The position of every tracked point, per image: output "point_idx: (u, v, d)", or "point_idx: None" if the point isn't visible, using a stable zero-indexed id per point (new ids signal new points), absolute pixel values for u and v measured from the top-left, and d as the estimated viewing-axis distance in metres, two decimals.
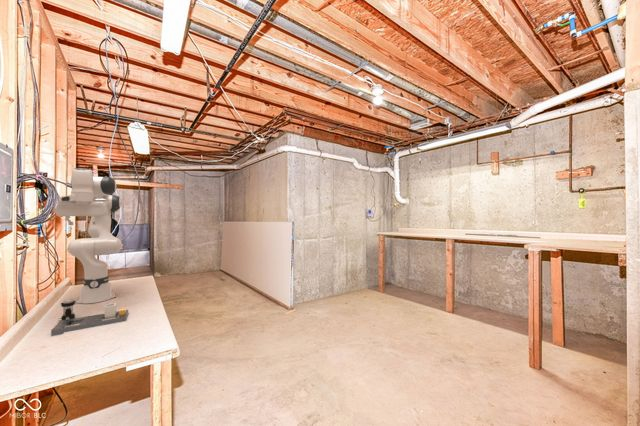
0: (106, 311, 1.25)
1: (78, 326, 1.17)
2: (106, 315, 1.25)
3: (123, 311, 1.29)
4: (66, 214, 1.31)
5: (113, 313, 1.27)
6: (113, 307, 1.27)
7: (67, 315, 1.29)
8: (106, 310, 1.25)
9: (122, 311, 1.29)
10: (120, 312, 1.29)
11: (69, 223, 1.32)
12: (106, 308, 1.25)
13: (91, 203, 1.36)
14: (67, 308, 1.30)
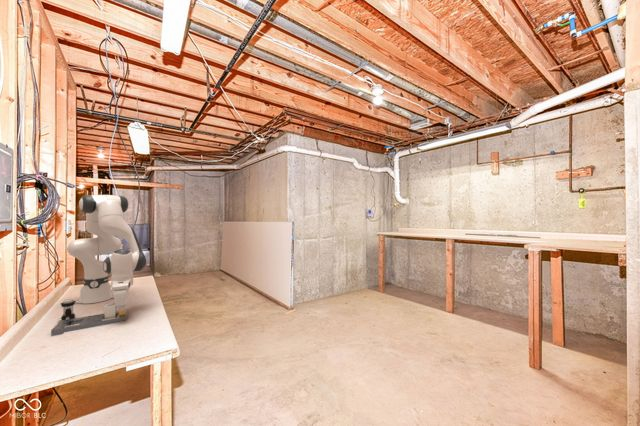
0: (106, 311, 1.25)
1: (78, 326, 1.17)
2: (106, 315, 1.25)
3: (123, 311, 1.29)
4: (125, 301, 1.26)
5: (113, 313, 1.27)
6: (113, 307, 1.27)
7: (67, 315, 1.29)
8: (106, 310, 1.25)
9: (122, 311, 1.29)
10: (120, 312, 1.29)
11: (124, 308, 1.30)
12: (106, 308, 1.25)
13: None
14: (67, 308, 1.30)
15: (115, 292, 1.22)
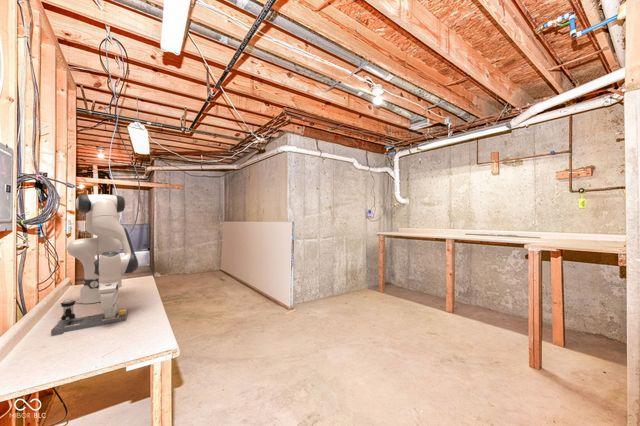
0: (106, 311, 1.25)
1: (78, 326, 1.17)
2: (106, 315, 1.25)
3: (123, 312, 1.29)
4: (113, 304, 1.24)
5: (113, 313, 1.27)
6: (113, 307, 1.27)
7: (67, 315, 1.29)
8: (106, 310, 1.25)
9: (122, 312, 1.29)
10: (120, 313, 1.29)
11: None
12: None
13: None
14: (67, 308, 1.30)
15: (102, 295, 1.19)
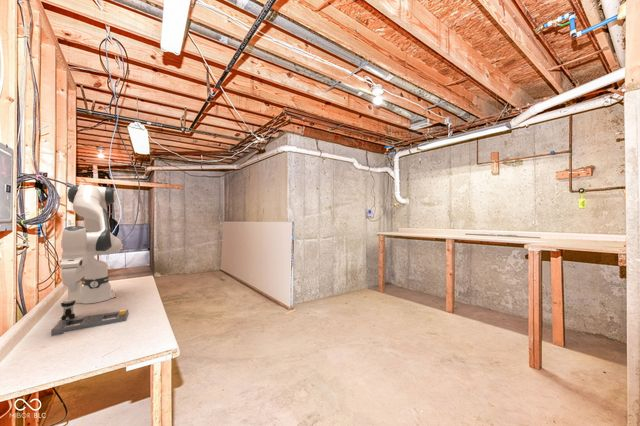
0: (69, 288, 1.19)
1: (78, 326, 1.17)
2: (69, 292, 1.19)
3: (123, 312, 1.29)
4: (76, 280, 1.17)
5: (77, 291, 1.20)
6: (77, 284, 1.20)
7: (67, 315, 1.29)
8: (69, 287, 1.19)
9: (122, 312, 1.29)
10: (120, 313, 1.29)
11: (75, 289, 1.19)
12: None
13: None
14: (67, 308, 1.30)
15: (63, 270, 1.12)
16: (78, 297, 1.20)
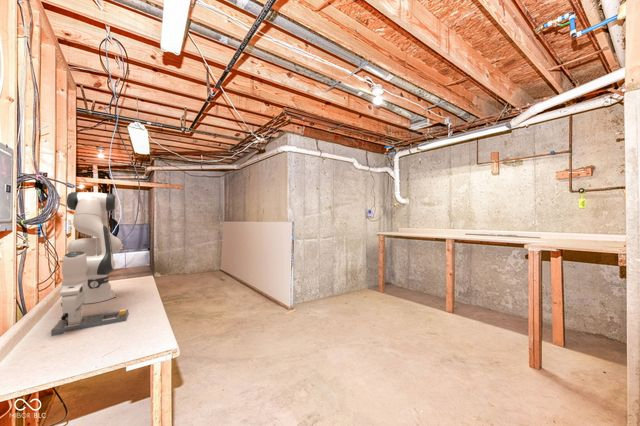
0: None
1: (78, 326, 1.17)
2: (70, 321, 1.19)
3: (123, 312, 1.29)
4: (76, 307, 1.17)
5: (78, 319, 1.20)
6: (78, 312, 1.20)
7: (67, 315, 1.29)
8: None
9: (122, 312, 1.29)
10: (120, 313, 1.29)
11: (74, 317, 1.17)
12: None
13: None
14: None
15: (63, 298, 1.12)
16: None
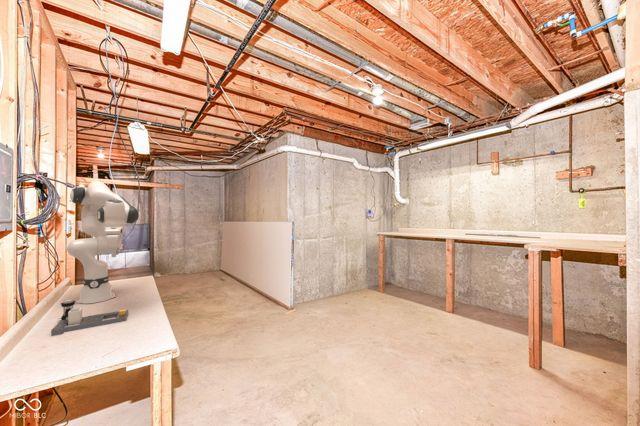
0: (70, 317, 1.19)
1: (78, 326, 1.17)
2: (70, 321, 1.19)
3: (123, 312, 1.29)
4: (117, 246, 1.34)
5: (78, 319, 1.20)
6: (78, 312, 1.20)
7: (67, 315, 1.29)
8: (70, 316, 1.19)
9: (122, 312, 1.29)
10: (120, 313, 1.29)
11: None
12: (70, 314, 1.19)
13: None
14: (67, 308, 1.30)
15: (108, 236, 1.30)
16: None
